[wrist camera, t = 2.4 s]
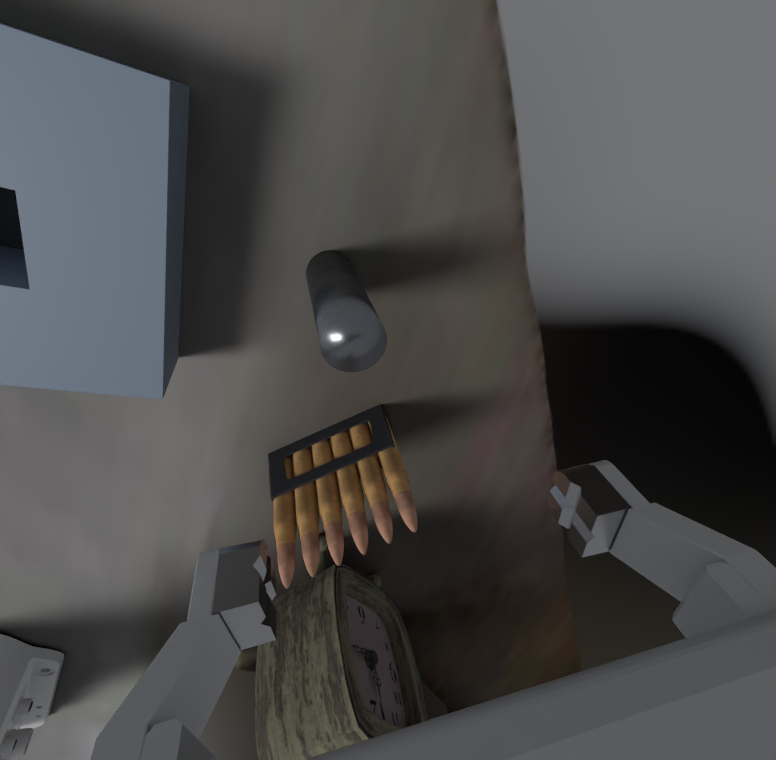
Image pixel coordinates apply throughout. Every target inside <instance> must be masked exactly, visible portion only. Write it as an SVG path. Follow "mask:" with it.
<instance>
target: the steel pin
mask: <svg viewBox="0 0 776 760" xmlns="http://www.w3.org/2000/svg"><path fill="white" fill-rule="evenodd" d="M306 277H307V283H308V288H309V293H310V297H311V302H312V307H313V312H314V317H315V322H316V327H317V332H318V337H319V342H320V347H321V351H322V354H323V357H324V358H325V360H326V361H327V362H328V363H329V364H330V365H331V366H332V367H334V368H336V369H338V370H341V371H345V372H358V371H362V370H365V369H367V368H369V367H371V366H372V365H374V364H375V363H376V362H377V361H378V360H379V359H380V358H381V357H382V355H383V353H384V351H385V349H386V345H387V336H386V332H385V329H384V327H383V325H382V323H381V321H380V319H379V317H378V315H377V313H376V311H375V309H374V307H373V305H372V304H371V302H370V300H369V298H368V296H367V294H366V292H365V290H364V288H363V286H362V284H361V282H360V280H359V278H358V276H357V274H356V272H355V270H354V268H353V266H352V264H351V262H350V261H349V259H348V258H347V257H346V256H345V255H343V254H341V253H339V252H336V251H323V252H320V253H318V254H317V255H315V256H314V257H313V258H312V259H311V260H310V262H309V264H308V266H307V270H306Z"/></svg>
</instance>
